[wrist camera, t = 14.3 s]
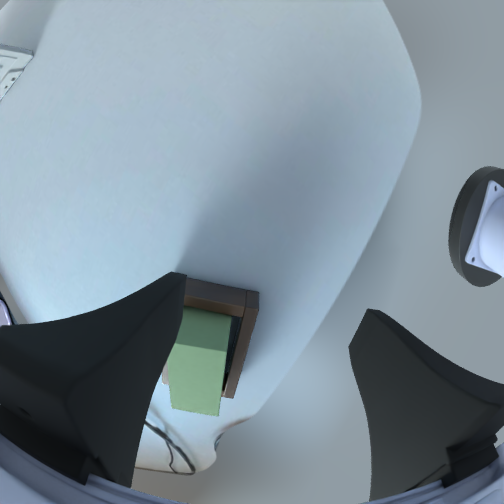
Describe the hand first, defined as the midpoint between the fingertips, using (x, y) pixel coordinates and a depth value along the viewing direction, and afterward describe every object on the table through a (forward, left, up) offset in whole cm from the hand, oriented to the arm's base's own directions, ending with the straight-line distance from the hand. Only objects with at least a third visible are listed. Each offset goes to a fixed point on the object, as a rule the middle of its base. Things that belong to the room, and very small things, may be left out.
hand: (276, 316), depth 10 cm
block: (+3, +11, -10) cm, 15 cm away
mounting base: (+3, +11, -10) cm, 15 cm away
